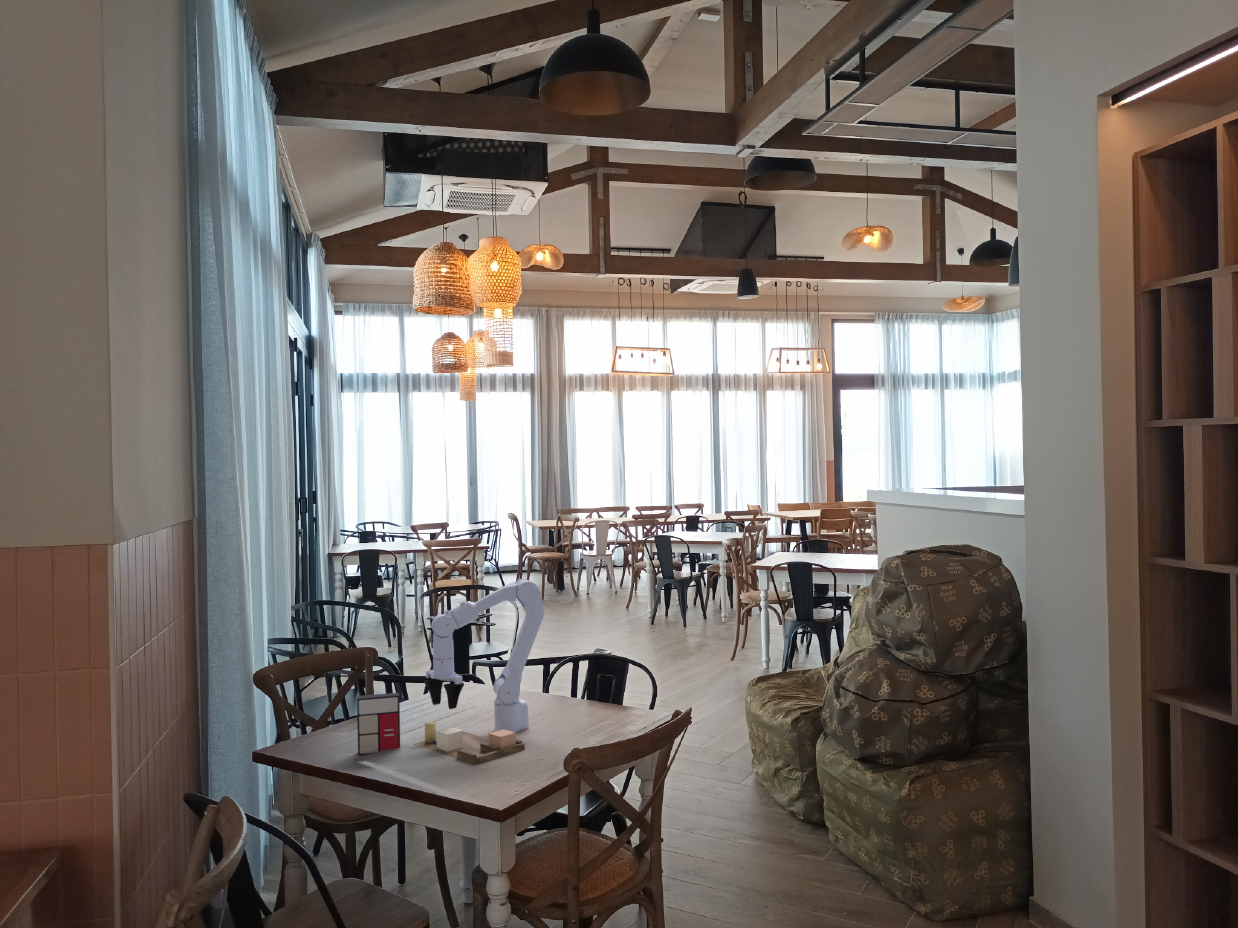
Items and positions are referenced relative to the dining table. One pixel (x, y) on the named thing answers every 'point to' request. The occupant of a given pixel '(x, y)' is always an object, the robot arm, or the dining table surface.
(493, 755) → the shelf
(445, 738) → the tethered block
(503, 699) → the robot arm
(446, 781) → the dining table surface
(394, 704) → the calculator
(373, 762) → the dining table surface
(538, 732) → the dining table surface
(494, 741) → the untied block
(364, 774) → the dining table surface
